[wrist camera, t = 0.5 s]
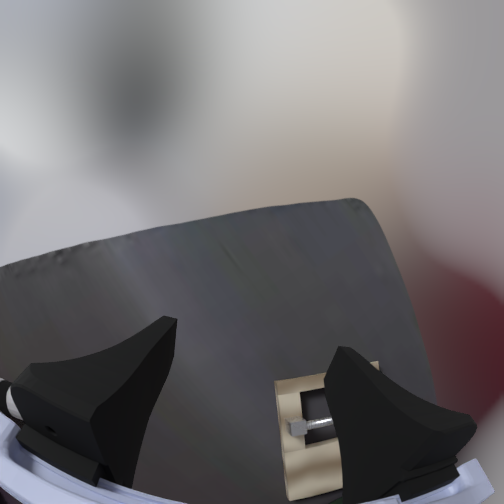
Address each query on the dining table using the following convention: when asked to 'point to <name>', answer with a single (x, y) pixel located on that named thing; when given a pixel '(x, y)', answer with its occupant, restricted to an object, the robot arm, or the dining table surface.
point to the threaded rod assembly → (304, 424)
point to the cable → (7, 400)
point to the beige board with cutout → (306, 456)
